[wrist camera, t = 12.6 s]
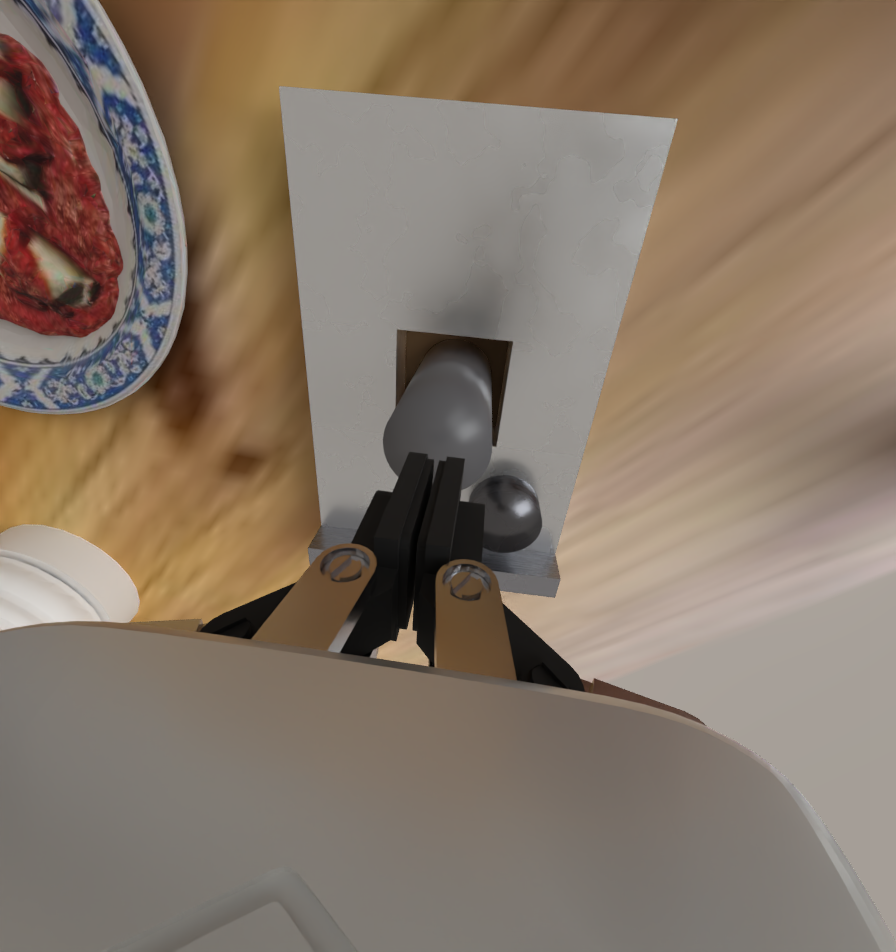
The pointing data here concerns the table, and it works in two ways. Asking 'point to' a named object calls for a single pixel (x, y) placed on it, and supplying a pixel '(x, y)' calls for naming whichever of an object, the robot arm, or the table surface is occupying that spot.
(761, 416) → the table surface
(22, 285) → the ceramic plate
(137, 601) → the honey pot
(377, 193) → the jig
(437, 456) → the gray cylinder
